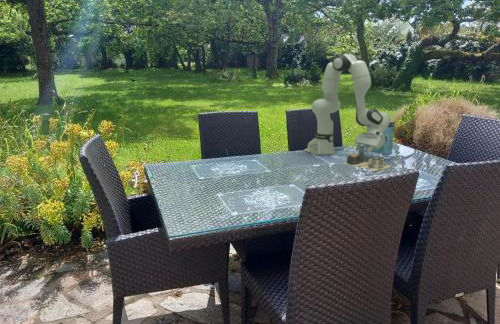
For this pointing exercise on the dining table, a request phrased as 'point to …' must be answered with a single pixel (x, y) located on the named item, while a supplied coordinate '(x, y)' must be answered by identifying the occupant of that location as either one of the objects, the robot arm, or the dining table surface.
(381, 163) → the organiser
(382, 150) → the gum box
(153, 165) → the dining table surface
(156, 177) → the dining table surface
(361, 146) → the marker
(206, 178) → the dining table surface
